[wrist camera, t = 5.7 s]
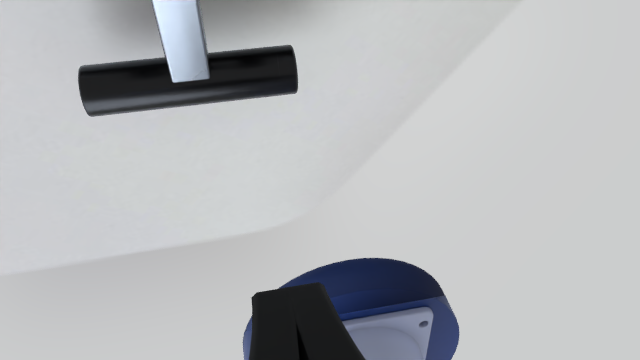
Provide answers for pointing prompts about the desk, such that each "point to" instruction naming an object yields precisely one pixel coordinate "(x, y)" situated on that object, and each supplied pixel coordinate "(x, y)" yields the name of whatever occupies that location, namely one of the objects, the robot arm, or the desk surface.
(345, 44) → the desk surface
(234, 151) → the desk surface
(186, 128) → the desk surface
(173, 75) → the tap lever
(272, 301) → the robot arm
